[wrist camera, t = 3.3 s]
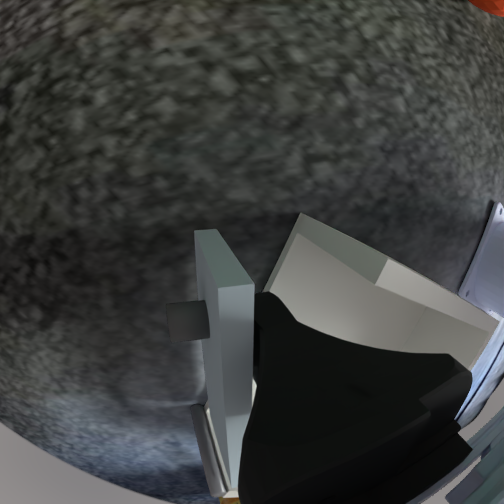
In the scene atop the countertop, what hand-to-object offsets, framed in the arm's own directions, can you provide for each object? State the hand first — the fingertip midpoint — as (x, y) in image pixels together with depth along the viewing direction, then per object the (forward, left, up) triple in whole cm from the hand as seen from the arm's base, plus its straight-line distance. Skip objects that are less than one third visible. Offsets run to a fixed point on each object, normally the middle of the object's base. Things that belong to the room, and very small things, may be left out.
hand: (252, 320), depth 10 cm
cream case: (-7, +2, -3) cm, 8 cm away
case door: (+1, +3, -2) cm, 3 cm away
